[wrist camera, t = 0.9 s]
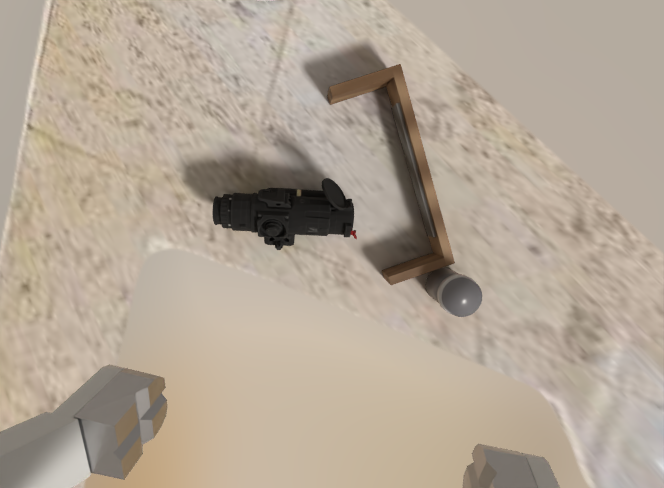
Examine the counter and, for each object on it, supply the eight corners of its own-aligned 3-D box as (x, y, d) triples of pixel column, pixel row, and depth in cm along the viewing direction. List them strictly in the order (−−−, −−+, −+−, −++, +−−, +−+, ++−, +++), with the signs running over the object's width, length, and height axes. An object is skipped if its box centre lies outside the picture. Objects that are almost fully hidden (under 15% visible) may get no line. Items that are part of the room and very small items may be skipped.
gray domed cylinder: (419, 273, 51) (438, 285, 44) (454, 261, 51) (478, 272, 44) (429, 306, 52) (449, 323, 45) (463, 294, 52) (487, 310, 45)
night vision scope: (225, 211, 49) (216, 152, 42) (348, 218, 52) (360, 162, 44) (215, 254, 44) (203, 194, 37) (352, 260, 46) (367, 204, 39)
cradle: (327, 95, 46) (329, 86, 42) (392, 74, 46) (400, 63, 42) (383, 277, 50) (390, 285, 46) (442, 257, 51) (454, 263, 47)
